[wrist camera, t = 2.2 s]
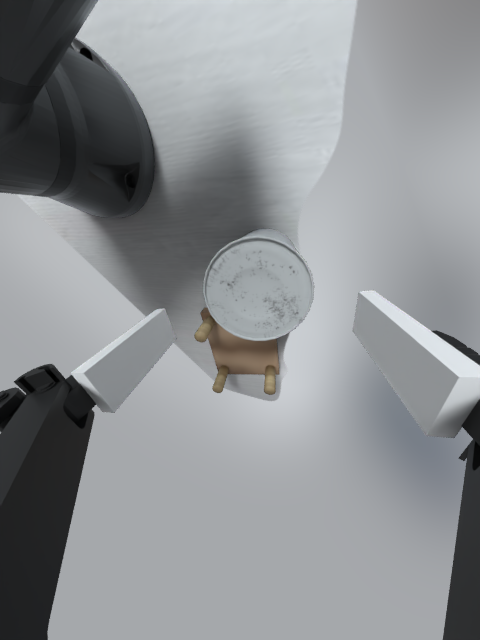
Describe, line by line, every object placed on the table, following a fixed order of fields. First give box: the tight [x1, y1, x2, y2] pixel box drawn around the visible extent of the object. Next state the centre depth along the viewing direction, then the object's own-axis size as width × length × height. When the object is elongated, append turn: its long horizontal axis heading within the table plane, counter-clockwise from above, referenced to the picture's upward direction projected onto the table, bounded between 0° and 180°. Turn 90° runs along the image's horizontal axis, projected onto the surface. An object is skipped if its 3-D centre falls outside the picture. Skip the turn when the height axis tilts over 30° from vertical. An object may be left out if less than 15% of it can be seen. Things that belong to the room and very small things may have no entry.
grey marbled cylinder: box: [203, 228, 314, 341], centre depth 21 cm, size 10×10×12 cm
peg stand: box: [194, 308, 279, 395], centre depth 30 cm, size 14×12×7 cm
